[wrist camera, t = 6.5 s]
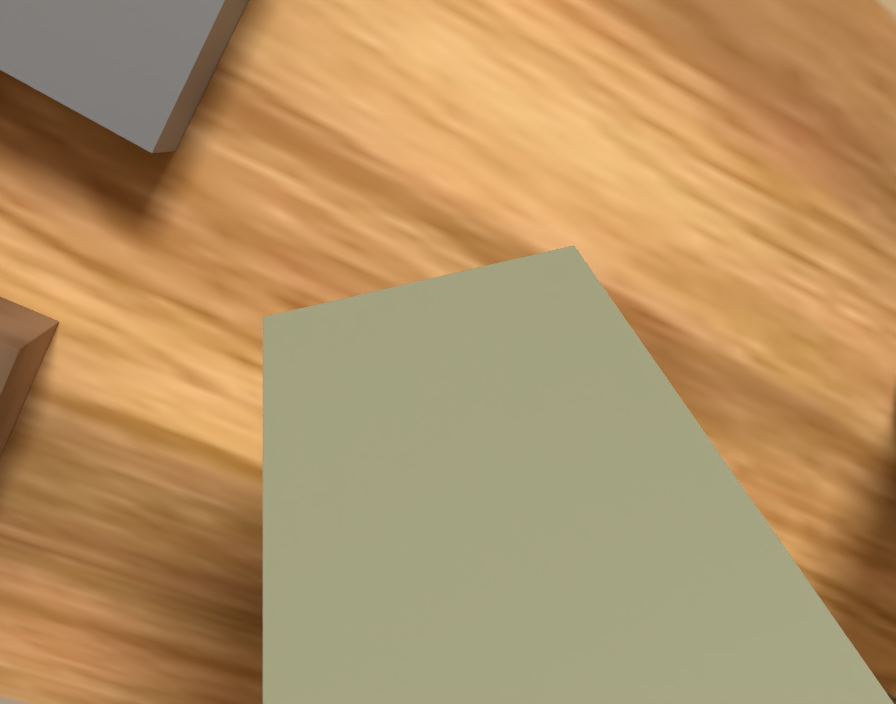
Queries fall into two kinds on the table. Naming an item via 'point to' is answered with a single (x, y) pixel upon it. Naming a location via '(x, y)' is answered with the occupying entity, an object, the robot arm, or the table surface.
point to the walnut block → (19, 358)
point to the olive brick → (515, 513)
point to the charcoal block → (120, 59)
